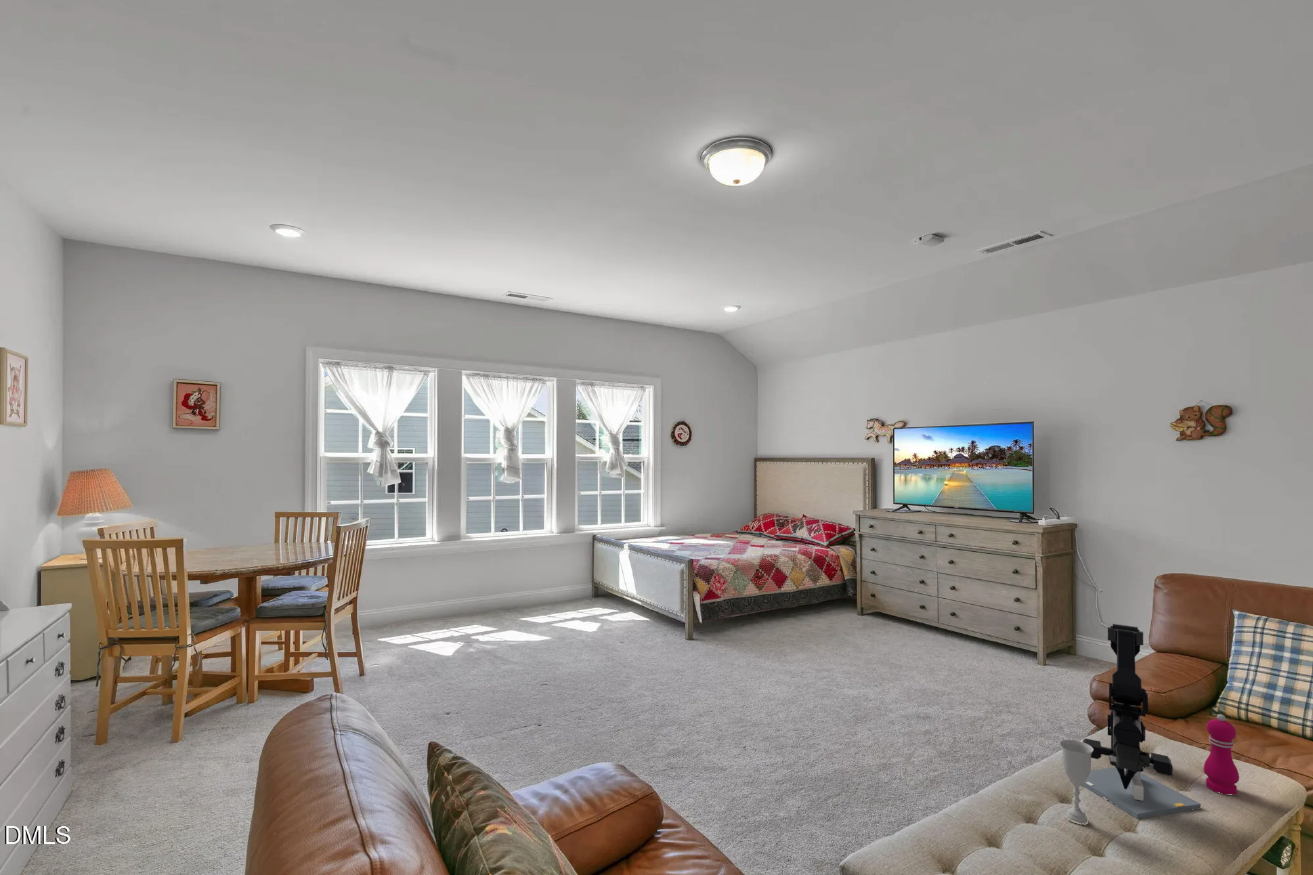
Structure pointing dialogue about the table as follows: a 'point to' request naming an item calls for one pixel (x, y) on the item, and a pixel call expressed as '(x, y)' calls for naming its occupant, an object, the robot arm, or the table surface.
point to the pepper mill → (1221, 757)
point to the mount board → (1154, 794)
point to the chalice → (1076, 772)
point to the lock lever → (1136, 786)
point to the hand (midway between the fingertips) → (1125, 788)
